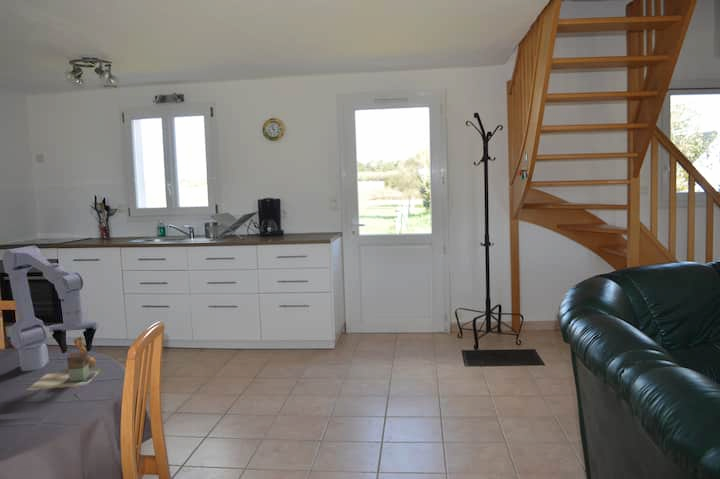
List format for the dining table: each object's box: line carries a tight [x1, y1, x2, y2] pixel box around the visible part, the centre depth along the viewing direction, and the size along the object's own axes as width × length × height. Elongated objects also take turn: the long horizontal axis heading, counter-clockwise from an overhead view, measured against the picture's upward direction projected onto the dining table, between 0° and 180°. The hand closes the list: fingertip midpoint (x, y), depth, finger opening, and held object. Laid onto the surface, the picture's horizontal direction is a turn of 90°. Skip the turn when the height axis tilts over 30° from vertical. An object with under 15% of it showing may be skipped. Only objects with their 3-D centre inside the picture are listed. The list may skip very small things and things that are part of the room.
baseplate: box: [26, 368, 103, 391], centre depth 177 cm, size 14×18×1 cm
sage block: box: [67, 364, 90, 381], centre depth 177 cm, size 4×4×4 cm
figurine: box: [73, 335, 97, 368], centre depth 188 cm, size 8×6×12 cm
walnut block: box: [66, 351, 89, 370], centre depth 177 cm, size 4×4×4 cm
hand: (76, 351), depth 176 cm, fingers open, 7 cm apart
